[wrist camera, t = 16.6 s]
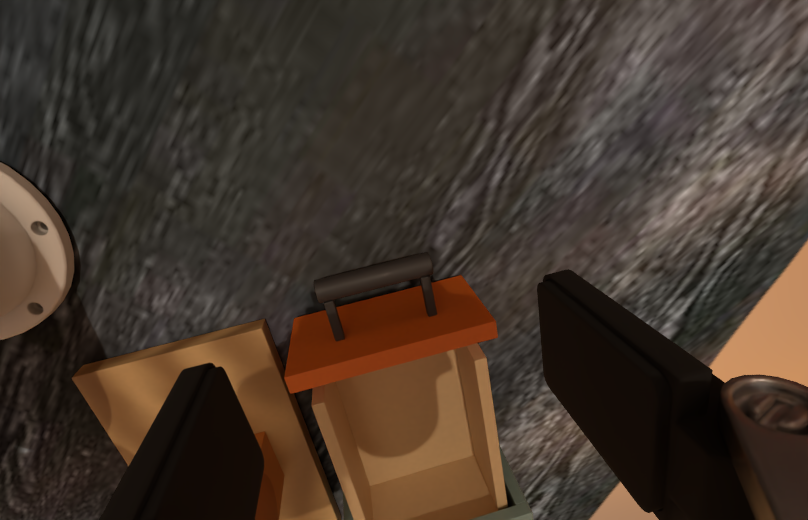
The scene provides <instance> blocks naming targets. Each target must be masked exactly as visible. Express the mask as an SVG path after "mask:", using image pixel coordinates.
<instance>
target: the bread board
mask: <svg viewBox="0 0 808 520" xmlns="http://www.w3.org/2000/svg"><path fill="white" fill-rule="evenodd" d="M209 362H210V363H213V364H214V365H215V366H216V367H219V366H221V367H223V368H224V370H225V371H226V373H227V376H228V378H229V380H230V382H231V384H232V387H233V389H234V391H235V393H236V395H237V398H238V400H239V402H240V404H241V406H242V408H243V411H244V413H245V415H246V417H247V419H248V422H249V424H250V426H251V428H252V430H253V433H254V434H256V433H260V432H264V431H265V433H266V435H267V437H268V439H269V442H270V444H271V446H272V448H273V451H274V453H275V455H276V457H277V460H278V462H279V464H280V466H281V469H282V471H283V473H284V475H285V476H284V484H283V492H282V500H281V508H280V517H279V520H341V514H340V511H339V509H338V506H337V504H336V501H335V498H334V496H333V493H332V491H331V488H330V486H329V483H328V480H327V478H326V475H325V473H324V470H323V467H322V465H321V462H320V460H319V457H318V455H317V452H316V449H315V447H314V444H313V442H312V439H311V437H310V434H309V431H308V429H307V426H306V424H305V421H304V418H303V416H302V413H301V411H300V408H299V406H298V403H297V400H296V398H295V395H294V393H292V394H290V392H289V389H288V386H287V384H286V381H285V379H284V376H285V369H284V367H283V364H282V362H281V359H280V356H279V354H278V351H277V349H276V346H275V344H274V341H273V338H272V336H271V333H270V331H269V328H268V325H267V323H266V320H265V319H261V320H257V321H253V322H250V323H246V324H242V325H238V326H234V327H230V328H226V329H222V330H218V331H214V332H211V333H207V334H203V335H199V336H195V337H191V338H187V339H183V340H179V341H175V342H172V343H168V344H164V345H160V346H156V347H152V348H148V349H144V350H140V351H136V352H133V353H129V354H125V355H121V356H117V357H113V358H109V359H105V360H101V361H97V362H94V363H90V364H86V365H83V366H82V367H81V368H80V369H79V370H78V371H77V372H76V373H75V375H74V376H73V377H72V380H73V381H74V383H75V384H76V386H77V387H78V389H79V390H80V392H81V394H82V395H83V397H84V398H85V400H86V401H87V403H88V404H89V406H90V407H91V409H92V410H93V412H94V414H95V415H96V417H97V418H98V420H99V421H100V423H101V424H102V426H103V427H104V429H105V431H106V432H107V434H108V435H109V437H110V438H111V440H112V441H113V443H114V444H115V446H116V447H117V449H118V451H119V452H120V454H121V455H122V457H123V458H124V460H125V461H126V463H127V464H128V466H129V465H130V463H131V461H132V459H133V458H134V456H135V454H136V452H137V450H138V449H139V447H140V445H141V443H142V441H143V440H144V438H145V436H146V434H147V432H148V431H149V429H150V427H151V425H152V423H153V421H154V420H155V418H156V416H157V414H158V412H159V411H160V409H161V407H162V405H163V403H164V402H165V400H166V398H167V396H168V394H169V393H170V391H171V389H172V387H173V385H174V384H175V382H176V380H177V378H178V376H179V375H180V373H181V371H182V370H183V369H186V368H190V367H194V366H198V365H202V364H205V363H209Z"/></svg>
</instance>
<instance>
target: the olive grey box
mask: <svg viewBox="0 0 808 520" xmlns="http://www.w3.org/2000/svg"><path fill="white" fill-rule="evenodd" d="M499 448H500V455H501V462H502V469H503V476H504V483H505V490H506V497H507V504H508V508H505V509H502V510H499V511H496V512H492V513H489V514H486V515H483V516H479V517H476V518H473V519H470V520H533V514H532V511H531V509H530V507H529V505H528V503H527V500H526V498H525V496H524V494H523V492H522V490H521V488H520V486H519V484H518V482H517V480H516V478H515V476H514V474H513V472H512V470H511V468H510V466H509V464H508V462H507V460H506V458H505V456H504V454H503V452H502V450H501V447H500V445H499ZM343 508H344V520H354V519H353V517H352V514H351V511H350V509H349V506H348V503H347V500H346V498H345V495H344V492H343Z"/></svg>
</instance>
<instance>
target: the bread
mask: <svg viewBox="0 0 808 520" xmlns="http://www.w3.org/2000/svg"><path fill="white" fill-rule="evenodd" d="M254 435H255V437H256V439H257V441H258V444H259V446H260V448H261V450H262V453H263V457H264V472H263V477H262V483H261V488H260V494H259V499H258V505H257V510H256V516H255V520H279V517H280V508H281V500H282V492H283V484H284V476H285V475H284V473H283V471H282V469H281V466H280V464H279V462H278V460H277V457H276V455H275V453H274V451H273V448H272V446H271V444H270V442H269V439H268V437H267V435H266V433H265V431H264V432H260V433H256V434H254Z"/></svg>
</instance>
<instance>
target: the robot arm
mask: <svg viewBox="0 0 808 520" xmlns="http://www.w3.org/2000/svg"><path fill="white" fill-rule="evenodd" d="M73 274H74V252H73V248H72V244H71V241H70V237H69V234H68V232H67V230H66V228H65V226H64V224H63V222H62V220H61V218H60V216H59V215H58V213H57V212H56V211H55V209H54V208H53V207H52V205H51V204H50V203H49V201H48V200H47V199H46V198H45V197H44V196H43V195H42V194H41V193H40V192H39V191H38V190H37V189H36V188H35V187H34V186H33V185H32V184H31V183H30V182H29V181H28V180H26V179H25V178H24V177H22V176H21V175H20V174H18V173H17V172H15V171H14V170H13V169H11V168H10V167H9V166H7V165H5V164H3V163H1V162H0V340H3V339H7V338H10V337H13V336H16V335H18V334H21V333H24V332H26V331H27V330H29V329H31V328H33V327H34V326H36V325H38V324H39V323H41V322H42V321H43V320H44V319H46V318H47V317H48V316H50V315H51V314H52V313H53V312H54V311H55V310H56V309H57V308H58V307H59V305H60V304H61V303H62V302H63V301H64V299H65V297H66V295H67V293H68V291H69V289H70V287H71V284H72V279H73ZM537 292H538V305H539V319H540V332H541V345H542V358H543V371H544V377H545V380H546V382H547V384H548V386H549V388H550V389H551V391H552V392H553V393H554V395H555V396H556V397H557V398H558V400H559V401H560V402H561V404H562V405H563V406H564V408H565V409H566V410H567V412H568V413H569V414H570V416H571V417H572V418H573V420H574V421H575V422H576V423H577V425H578V426H579V427H580V429H581V430H582V431H583V433H584V434H585V435H586V437H587V438H588V439H589V441H590V442H591V443H592V445H593V446H594V447H595V448H596V450H597V451H598V452H599V454H600V455H601V456H602V458H603V459H604V460H605V462H606V463H607V464H608V466H609V467H610V468H611V470H612V471H613V472H614V473H615V475H616V476H617V477H618V479H619V480H620V481H621V483H622V484H623V485H624V487H625V488H626V489H627V491H628V492H629V493H630V495H631V496H632V497H633V498H634V500H635V501H636V502H637V504H638V505H639V506H640V507H641V508H642V509H643V510H644V511H645V512H648V513H650V512H653V513H654V514H655V515H656V517H657V518H658V519H659V520H808V387H806V386H804V385H801V384H799V383H797V382H794V381H790V380H786V379H783V378H779V377H773V376H766V375H744V376H739V377H735V378H732V379H730V380H729V381H727V382H726V383H724V382H723V381H722V380H720V379H719V378H717V377H716V376H715V375H713V374H712V369H710V368H709V367H707V366H706V365H704V364H703V363H702V362H700V361H699V360H697V359H696V358H695V357H693V356H692V355H690V354H689V353H687V352H686V351H685V350H683V349H682V348H680V347H679V346H678V345H676V344H675V343H673V342H672V341H670V340H669V339H668V338H666V337H665V336H663V335H662V334H661V333H659V332H658V331H656V330H655V329H653V328H652V327H651V326H649V325H648V324H646V323H645V322H644V321H642V320H641V319H639V318H638V317H637V316H635V315H634V314H632V313H631V312H629V311H628V310H627V309H625V308H624V307H622V306H621V305H620V304H618V303H617V302H615V301H614V300H612V299H611V298H610V297H608V296H607V295H605V294H604V293H603V292H601V291H600V290H598V289H597V288H595V287H594V286H593V285H591V284H590V283H588V282H587V281H586V280H584V279H583V278H581V277H580V276H578V275H577V274H576V273H574V272H573V271H571V270H569V269H568V270H564V271H560V272H556V273H552V274H548V275H545V276H544V278H543V282H541V283H539V284H538V286H537ZM263 472H264V457H263V453H262V450H261V448H260V446H259V444H258V441H257V439H256V437H255V435H254V433H253V430H252V428H251V426H250V424H249V422H248V419H247V417H246V415H245V413H244V411H243V408H242V406H241V404H240V402H239V400H238V398H237V395H236V393H235V391H234V389H233V387H232V384H231V382H230V380H229V378H228V376H227V373H226V371H225V370H224V368H223V367H221V366H219V367H216V366H215V365H214V364H213V363H210V362H209V363H205V364H202V365H198V366H194V367H190V368H186V369H183V370H182V371H181V373H180V375H179V376H178V378H177V380H176V382H175V384H174V385H173V387H172V389H171V391H170V393H169V394H168V396H167V398H166V400H165V402H164V403H163V405H162V407H161V409H160V411H159V412H158V414H157V416H156V418H155V420H154V421H153V423H152V425H151V427H150V429H149V431H148V432H147V434H146V436H145V438H144V440H143V441H142V443H141V445H140V447H139V449H138V450H137V452H136V454H135V456H134V458H133V459H132V461H131V463H130V465H129V467H128V468H127V470H126V472H125V474H124V476H123V477H122V479H121V481H120V483H119V485H118V486H117V488H116V490H115V492H114V494H113V496H112V497H111V499H110V501H109V503H108V505H107V506H106V508H105V510H104V512H103V514H102V515H101V517H100V519H99V520H255V516H256V510H257V505H258V499H259V494H260V488H261V483H262V477H263Z"/></svg>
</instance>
